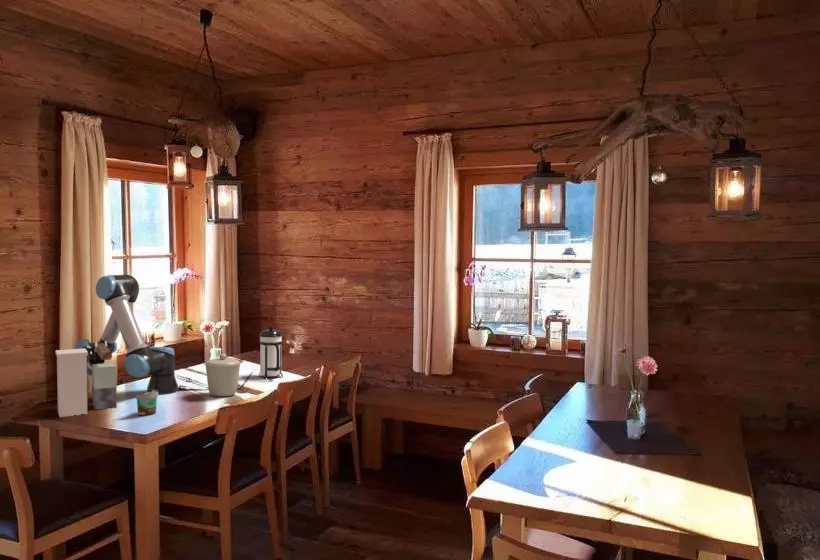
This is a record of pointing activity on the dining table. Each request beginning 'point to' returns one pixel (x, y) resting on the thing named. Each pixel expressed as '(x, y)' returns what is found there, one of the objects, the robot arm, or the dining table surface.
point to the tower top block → (104, 375)
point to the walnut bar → (103, 351)
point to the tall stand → (72, 382)
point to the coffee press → (270, 353)
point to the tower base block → (104, 398)
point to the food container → (147, 403)
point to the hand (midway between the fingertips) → (101, 343)
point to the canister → (222, 375)
